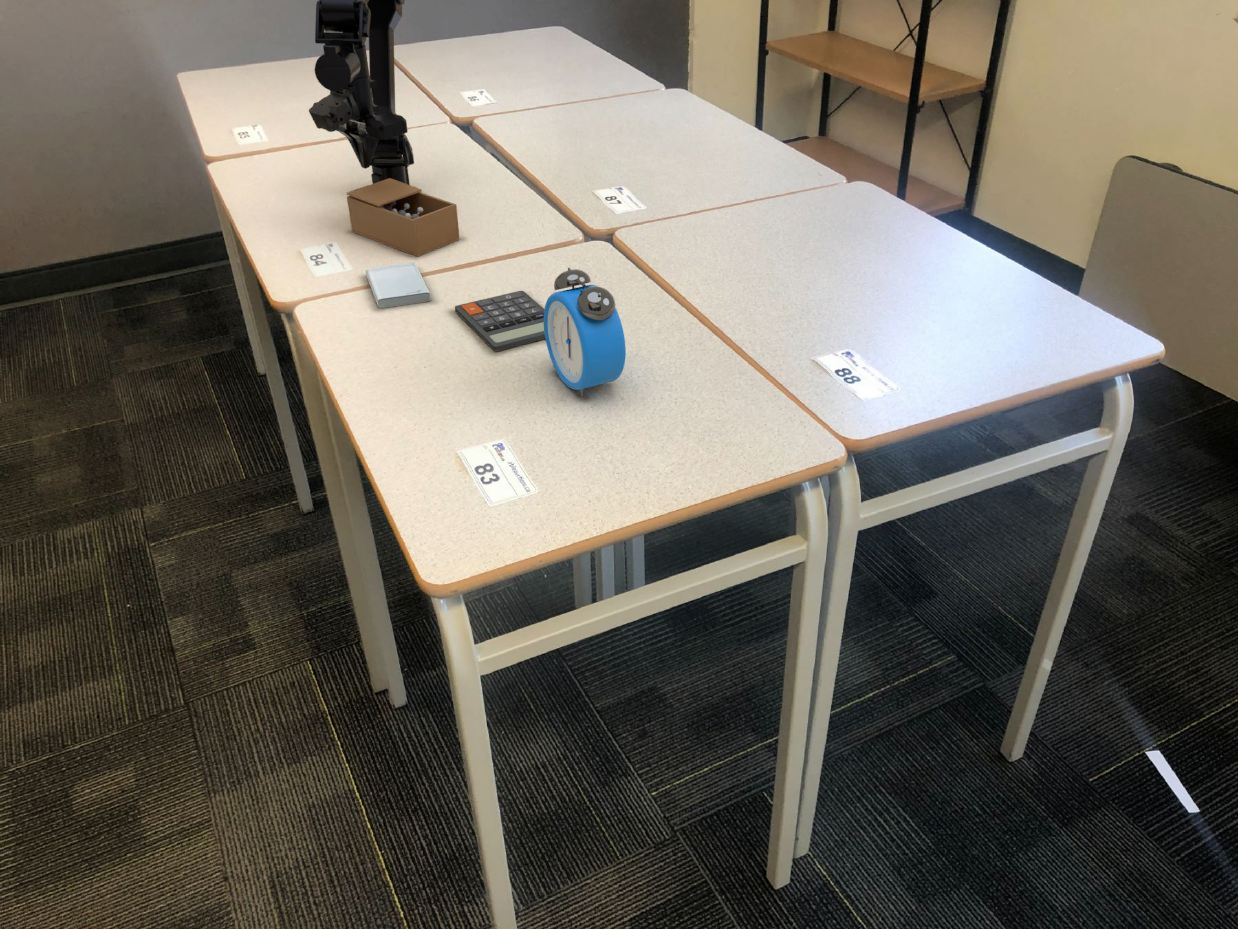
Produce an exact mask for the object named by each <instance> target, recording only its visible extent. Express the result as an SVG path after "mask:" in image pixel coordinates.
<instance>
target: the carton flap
mask: <svg viewBox="0 0 1238 929" xmlns="http://www.w3.org/2000/svg"><path fill="white" fill-rule="evenodd" d="M419 192H421V193H423V190H422V189H421V188H419V187H416V186H414V185H408V184H405V183H402V182H399V181H397V180H394V179H391V178H389V179H386V180H383V181H380V182H377V183H374V184H373V183H371V184H368V185H365V186H362V187H359V188H355V189H352V190H350V191H346V195H347V196H352V197H355V198H357V199H360V200H362V201H365V202H368V203H370V204H373V205H376V206H378V207H379V206H382V205H385V204H387V203H390V202H393V201H396V200H399V199H402V198H405V197H407V196H410V195H413V194H416V193H419Z"/></svg>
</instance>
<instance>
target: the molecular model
mask: <svg viewBox="0 0 1238 929" xmlns="http://www.w3.org/2000/svg"><path fill="white" fill-rule="evenodd" d="M390 204H391V205H390V206H386V207H385V208H384V207H383V205H382V206H379V207H380V208H383V209H386V210H389V211H392V212H394V213H397V214H400V215H403V216H406V217H408V218H411V219H415V218H418V217H419V216H418V215H419V213H422V212H423V208H421V207H419V208H418V209H417V211H418V213H417V214H413V215H412V216H411V215H410V214H409V213H406V212H405V210H406V209H409V207H410V205H409V204H407V203H406V204H404V210H399V211H398V212H397V210H396V209H392V208H391V207H392V205H393V206H394V205H395V204H396V201H393V202H390Z"/></svg>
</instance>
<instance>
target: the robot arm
mask: <svg viewBox="0 0 1238 929" xmlns="http://www.w3.org/2000/svg"><path fill="white" fill-rule="evenodd" d="M404 5H405V0H317V1H316V4H315V28H314V32H315V33H314V35H315V36H314V43H315V44H318V45H321V44H323V46H322V49H323V54H321V55H319V57H318V58H317V59H316V62H315V65H314V74H315V78H316V80H317V82H318V83H319V84H320V85H321V87H323V88H324V89H326V90H328V91H329V94H328V95H326V96H324V97H323V98H321V99H320V100H319V101H316V102H314V103H313V104H312V106H311V107H310V108H309V109H308V113H309V115H310V117H311V119H312V121H313V122H314V124H315V125H314V126H316V129H319V130H320V129H322V130H325V131H326V132H328V133H332V132H338V133H340V134H341V135H343V136H344V137H346V139H347V141H348V143H349V144H350V146H351V148H352V150H353V153H354V154H355V156H356V158H357V160H358V162H359V165H360V167H361V168H362V169H369V168H370V167H371V171H372V173H371V176H370V177H371V182H372V183H371V184H374V183H377V182H380V181H383V180H386V179H389V178H391V179H394V180H397V181H399V182H402V183H405V184H408V185H410V184H411V183H410V177H409V176H410V175H409V166H411V165H414V164H415V157H414V152H413V147H412V145H411V143H410V140H409V138H408V136H407V135H406V134H408V123H407V119H406V118H405V117H403V116H402V115H400V114H397V113H396V80H395V78H396V77H395V34H394V31H395V29H396V28H397V26H398V25H399V23H400V21H401V19H402V18H403V6H404ZM367 38H368V54H367V46H366V42H367ZM368 62H369V63H368Z"/></svg>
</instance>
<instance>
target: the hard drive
mask: <svg viewBox="0 0 1238 929" xmlns="http://www.w3.org/2000/svg"><path fill="white" fill-rule="evenodd" d="M365 275H366V278H367V282H368V283H369V286H370V289H371V291H372V294H373V297H374V299H375V301H376V304H377V307H378V308H381V309H385V308H392V307H399V306H406V305H414V304H420V303H421V304H422V303H427V302H430V301H431V300H432V298H431V297H432V296H431V293H430V290H429V288H428V286H427V284H426V282H425V280H424V278H423V276H422V274H421V272H420V270H419V268H418V266H417V264H416V262H404V263H396V264H389V265H382V266H375V267H369V268H366V269H365Z"/></svg>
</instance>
